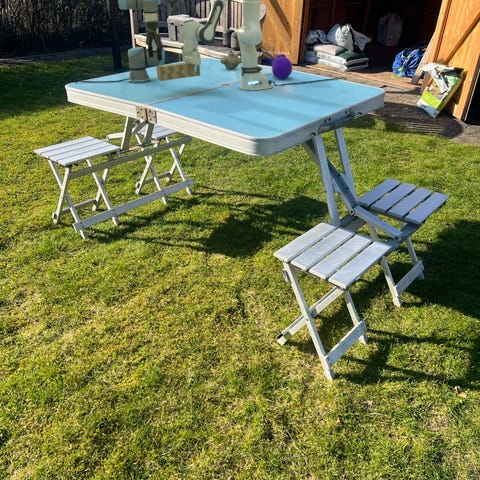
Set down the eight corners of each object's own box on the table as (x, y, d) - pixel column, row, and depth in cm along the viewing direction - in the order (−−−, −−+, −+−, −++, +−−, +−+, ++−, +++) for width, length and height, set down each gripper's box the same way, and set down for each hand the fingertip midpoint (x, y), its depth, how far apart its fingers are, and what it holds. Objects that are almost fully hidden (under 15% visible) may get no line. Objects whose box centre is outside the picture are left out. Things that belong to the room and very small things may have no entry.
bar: (161, 80, 283) (159, 67, 279) (157, 79, 287) (156, 66, 283) (200, 75, 295) (199, 62, 291) (196, 74, 299) (195, 61, 295)
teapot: (224, 71, 366) (223, 51, 359) (217, 69, 375) (216, 50, 367) (246, 68, 375) (246, 49, 368) (239, 67, 384) (239, 48, 376)
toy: (277, 73, 354) (291, 83, 334) (257, 69, 347) (271, 79, 326) (283, 52, 346) (298, 62, 326) (263, 47, 339) (277, 57, 318)
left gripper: (166, 22, 260) (169, 60, 271) (149, 19, 278) (153, 55, 289) (154, 23, 257) (158, 62, 268) (137, 19, 275) (142, 56, 286)
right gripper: (202, 49, 281) (204, 72, 288) (188, 46, 296) (190, 68, 303) (193, 50, 278) (195, 73, 285) (179, 46, 293) (181, 69, 300)
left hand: (155, 58), depth 279 cm, fingers open, 13 cm apart
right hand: (192, 70), depth 294 cm, fingers closed on bar, 6 cm apart
